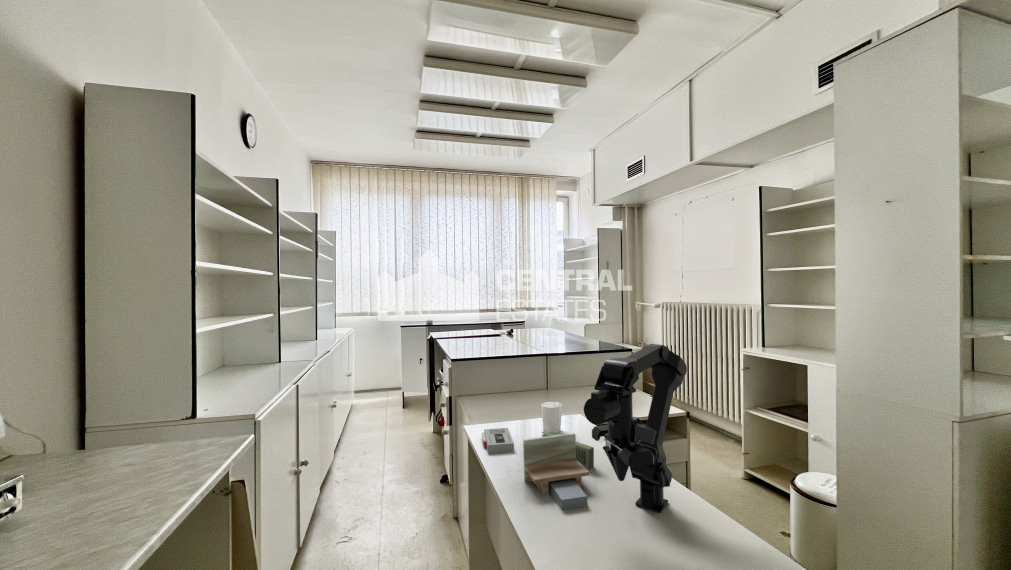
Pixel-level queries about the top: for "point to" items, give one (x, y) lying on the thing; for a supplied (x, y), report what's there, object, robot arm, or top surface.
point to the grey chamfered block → (567, 493)
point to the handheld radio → (581, 453)
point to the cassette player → (498, 440)
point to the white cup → (551, 416)
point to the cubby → (552, 460)
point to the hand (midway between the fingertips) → (621, 480)
